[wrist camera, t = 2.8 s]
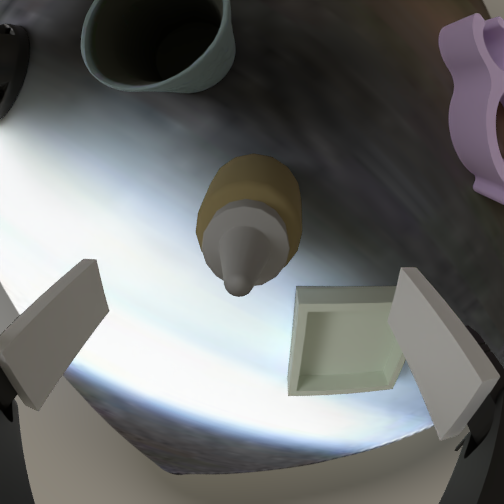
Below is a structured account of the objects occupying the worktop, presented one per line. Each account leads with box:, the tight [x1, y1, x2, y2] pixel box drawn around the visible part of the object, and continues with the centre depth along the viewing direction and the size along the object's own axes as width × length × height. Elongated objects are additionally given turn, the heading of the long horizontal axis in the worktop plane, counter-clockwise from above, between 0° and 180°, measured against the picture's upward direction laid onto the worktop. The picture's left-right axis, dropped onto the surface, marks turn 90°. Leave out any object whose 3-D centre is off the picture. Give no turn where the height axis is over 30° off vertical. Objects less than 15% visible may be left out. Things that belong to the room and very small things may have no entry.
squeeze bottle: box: [196, 154, 302, 297], centre depth 20 cm, size 8×8×18 cm
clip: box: [439, 13, 504, 205], centre depth 19 cm, size 20×12×7 cm, turn 20°
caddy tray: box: [287, 286, 406, 396], centre depth 34 cm, size 15×15×4 cm
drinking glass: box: [81, 0, 236, 93], centre depth 18 cm, size 10×10×12 cm
